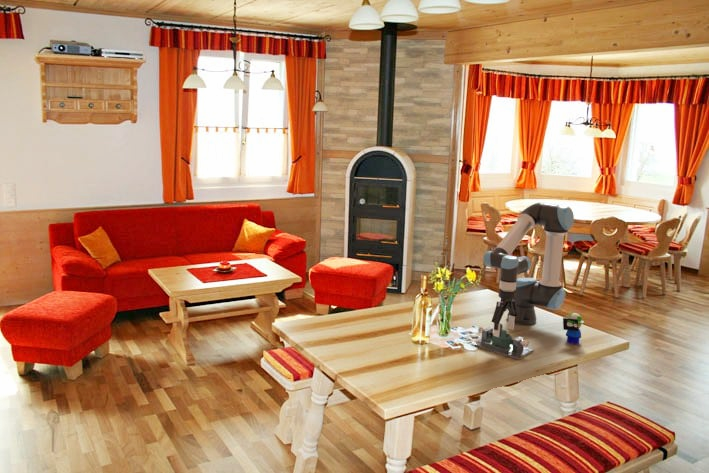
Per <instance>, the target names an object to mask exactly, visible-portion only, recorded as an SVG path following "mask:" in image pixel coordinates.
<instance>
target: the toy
mask: <svg viewBox="0 0 709 473" xmlns="http://www.w3.org/2000/svg"><path fill="white" fill-rule="evenodd" d="M584 323H585V321H584V320H583V319H582V316H581V315H580V314H579V313H576V312H572V313H571V314H569V315H568V317H563V318H562V324H563V325H562V326H563V328H562V329H563V330H564V331H565V330H566V333H565V336H566V337H567V338H566V342H567V343H571V344H574V345H579V344H580V339H581V338H582V331H581V327H582V324H584Z"/></svg>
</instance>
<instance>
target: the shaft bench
mask: <svg viewBox="0 0 709 473" xmlns="http://www.w3.org/2000/svg"><path fill="white" fill-rule="evenodd" d="M477 332H478V333H480V334H481V337H480V338H479V337H478V339H475V340H473V341H474V342H476V344H477V346H478V348H480V349H484V350H487V351H489V352H493V353H496V354H499V355H502V356H505V357H508V358H510V359H514V360H517V361H518V360H519V361H520V360H521V359H523V358H524V357H526V356H528V355H530V354H532V353H534V352H535V351H534V350H535V349H534V348H531V347H528V346H529V341H528V340H525V337H523V336H518V337H516V338H512V344H510V347H509V348H502V347H499V346H496V345H493V344H492V337H493V333H494V327H491V326H488V327H486V328H484V327H482V326H479V327H478V330H477ZM477 346H476V347H477Z"/></svg>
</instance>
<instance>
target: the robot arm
mask: <svg viewBox="0 0 709 473" xmlns="http://www.w3.org/2000/svg"><path fill="white" fill-rule="evenodd" d="M516 218H517V220H516V222H515V223H514V224H513V226H512V227H511V228H510V229H509V231H508V232H507V233H506V234H505V236H504V237H503V238H502V240H501V241H500V242H499V243H498V245H497V246H496V247H495V248H494V250H488V251H485V253H484V255H483V259H482V261H483V264H484V266H487V267H489V268H495V269H498V270H500V274H499V275H500V276H499V277H500V278H499V281H498V282H499V286H498V287H499V289H498V297H499V298H500V301H496V306H495V309H494V313H493V315H492V318H491V323H493V324H494V325H493V336H496V337H499V334H500V322H501V320H502V318H503V316H504V313H505V312H506V311H508V312H507V317H506V319H507V320H508V321H507V323H508V324H507V329H509V330H512V331H514V329H515V324H517V325H524V326H525V325H527V326H529V325H534V324H536V323H537V314H536V311H535V310H536V309H535V306H537V307H542V308H544V309H548V310H553V311H555V310H559V309H560V308H561V306H562V305H563V303H564V301H565V299H566V294H567V292H566V289H564V288H562V287H563V284H562V281H561V280H560V277H561V268H562V260H563V259H562V257H563V248H564V240H565V239H564V238H565V236H566V235H567V234H568V233H569V232H568V231H570V230H571V229H572V228H573V225H574V220H575V218H574V212H573V210H572V208H571V207H570V206H567V205H562V204H555V203H547V202H543V201H542V202H536V203H534V204H531V205H529V206H527V207H526V208H524V209H523V210H522V211H521V212H520V213H519V214H518V216H517V217H516ZM535 226H541V227H542V226H543V231H544V233H545V234H546V235H545V244H544V245H545V246H544V256H543V264H542V274H541V279H539V280H537V278H535V277H519V278H518V275H520V274H524V273H527V271H528V272H529V271H530V269H531V268H532V261H531V259H530V258H529V257H528V256H526V255H524V256H523V255H522V256H516V255H511V254H512V253H513V252H514V251H515V249H516V248H517V247H518V245H519V244H520V243H521V241H522V240H523V239H524V238H525V236H526V235H527V233H528V232H529V231H530V230H532V229H534V227H535Z"/></svg>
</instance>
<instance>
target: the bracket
mask: <svg viewBox="0 0 709 473" xmlns="http://www.w3.org/2000/svg"><path fill="white" fill-rule="evenodd" d="M512 339H513V336H511V334H510V333H508V332H507V330H505V329H503V324H502V323H500V334H499V337H496V336H493V337H492V344H493V345H496V346H499V347H502V348H509V347H510V344H512Z"/></svg>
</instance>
